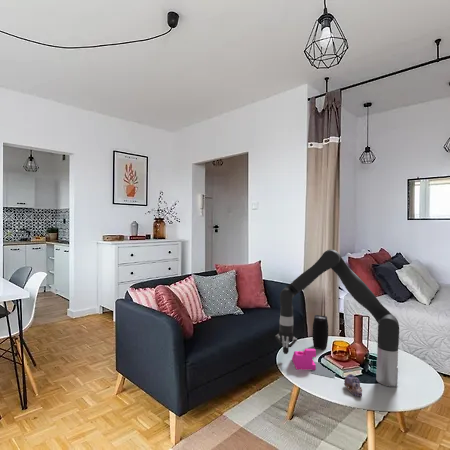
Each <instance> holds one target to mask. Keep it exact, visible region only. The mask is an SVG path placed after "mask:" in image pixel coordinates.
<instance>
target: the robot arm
mask: <svg viewBox="0 0 450 450" xmlns="http://www.w3.org/2000/svg"><path fill="white" fill-rule="evenodd" d="M329 270H332V271H333V272H334V273H335V274H336V276H337V277H338V278H339V280H340V281H341V283H342V284H343V286H344V288H345V289H346V291H347V292H348V293H349V294H350V296H351V297H352V298H353V299H354V300H355V301H356V303H358V305H360V306H361V307H363V308H365V309H366V310H367V311H368V312H369V313H370V314H371V315H372V317H373V319H375V321H376V323H377V349H376V350H377V351H376V373H375V374H376V376H375V377H376V382H377V383H379V384H381V385H383V386H386V387H398V383H399V382H398V380H399V377H398V376H399V366H398V364H399V344H400V324H399V321H398V319H397V318H396V317H395V315H393V314H392V313H391V312H390V311H389V310H388V309H387V308H386V307H385V306H384V305H383V304H382V303H381V302H380V300H379V299H378V297H377V296H376V295H375V293H374V292H373V291H372V290H371V289H370V288H369V286H367V284H366V283H365V282H364V281H363V280H362V278H360V277H359V275H357V274H356V273H355V272H354V271H353V270H352V269H351V268H350V267H349V266H348V264H347V263H346V262H345V260H344V259H343V258H342V256H341V254H340V253H339V252H338V251H337V250H335V249H327V250H325V251H324V252H323V253H322V255H321V256H320V257H319V258H318V260H316V262H314V263H313V265H312V266H311V267H309V268H308V269H306V270H305V271H304V272H302V273H301V274H299V276H297V277H296V278H295V279H294V280H293V281H292V282H291V283H289V284H288V285H286V286H285V287H284V288H282V290H281V291H280V293H279V302H280V303H279V304H280V315H279V316H280V317H279V332H278V333H277V334H276V335H275V336H274V338H275V340H276V341H277V344H279V346H281V347H282V354H284V355H287V354H288V353H289V349H290V348H292V347H293V346H294V345H295V343H296V342H298V338H297V337H295V335H294V306H293V299H294V297H295V296H297V294H299V293H300V292H302V291H303V290H305V289H306V288H308V286H310V285H311V284H312V283H313V282H315V281H316V280H317V279H318V277H320V276H321V275H322V274H323V273H325V272H327V271H329ZM291 340H292V341H291Z"/></svg>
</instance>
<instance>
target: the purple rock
mask: <svg viewBox="0 0 450 450" xmlns="http://www.w3.org/2000/svg"><path fill="white" fill-rule="evenodd" d="M343 384H344V387H346V389H347V390H348V391H349V392H350V394H351V395H353V396H354V395H355V396H354V397H355V398H356V397H359V396H360V397H361V398H362V397H363V389H362V387H361V382H360V379H359V378H358V377H357V376H355V375H354V374H352V373H351V374H350V373H349V374H347V375H345V379H344V383H343Z"/></svg>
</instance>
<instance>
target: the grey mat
mask: <svg viewBox="0 0 450 450" xmlns="http://www.w3.org/2000/svg"><path fill="white" fill-rule="evenodd" d="M314 363H315V365H316V370H310V374H313V375H317V376H318V375H319V376H321V377H322V376H323V377H326V378H332V379H335V376H336V373H333V372H332V371H330V370H328V369H327V368H325V367H323V366H322V365H321V364H320V363H321V362H318V361H314Z"/></svg>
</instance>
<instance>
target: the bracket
mask: <svg viewBox="0 0 450 450" xmlns="http://www.w3.org/2000/svg"><path fill="white" fill-rule="evenodd" d="M316 356H317V350H316V348H304V350H302V351H301V350H299V351H298V350H296V351H295V350H294V352H293V355H292V358H291V361H292V362H293V365H294V368H295V370H298V371H299V370H302V371H303V370H304V371H305V370H307V371H308V370H309V371H311V370H316V365H315V363H314V362H315V361H314V359H313V358H316Z"/></svg>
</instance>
